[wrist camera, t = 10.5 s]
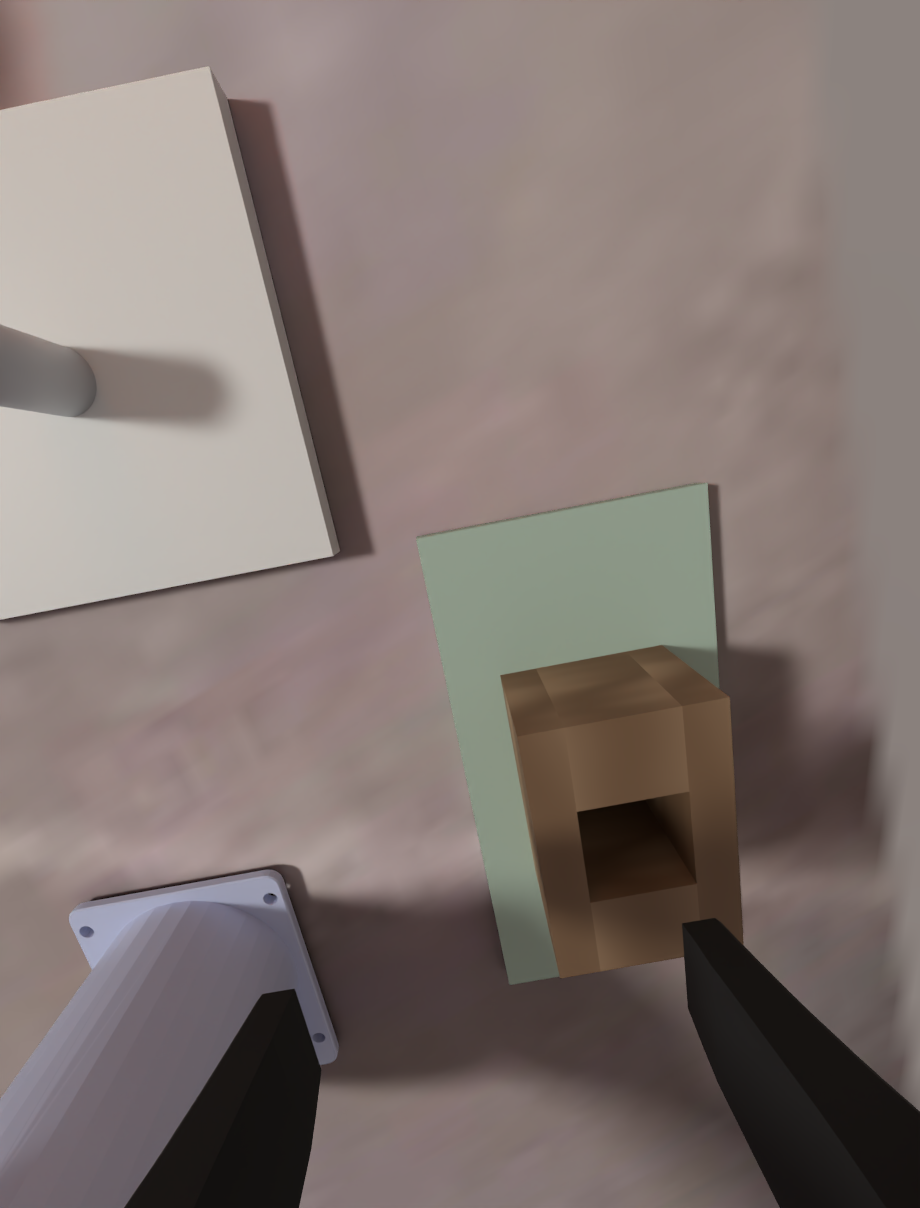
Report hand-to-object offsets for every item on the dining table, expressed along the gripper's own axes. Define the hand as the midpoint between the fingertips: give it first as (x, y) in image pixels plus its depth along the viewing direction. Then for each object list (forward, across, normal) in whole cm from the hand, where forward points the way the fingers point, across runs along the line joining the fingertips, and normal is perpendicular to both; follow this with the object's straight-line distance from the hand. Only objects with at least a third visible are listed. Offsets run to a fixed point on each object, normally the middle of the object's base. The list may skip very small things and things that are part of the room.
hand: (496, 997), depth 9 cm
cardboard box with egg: (+8, -4, +1) cm, 9 cm away
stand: (+9, +9, -14) cm, 18 cm away
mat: (+9, -4, +1) cm, 10 cm away
